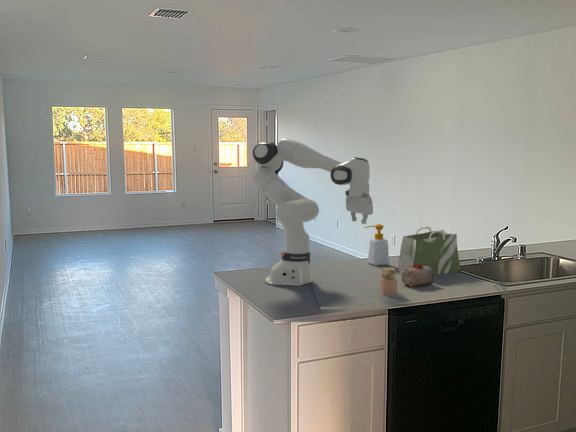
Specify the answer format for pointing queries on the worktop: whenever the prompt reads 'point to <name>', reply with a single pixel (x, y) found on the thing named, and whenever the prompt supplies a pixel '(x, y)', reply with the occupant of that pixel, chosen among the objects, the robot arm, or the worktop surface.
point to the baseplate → (371, 293)
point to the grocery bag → (430, 252)
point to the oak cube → (388, 273)
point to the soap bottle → (378, 248)
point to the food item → (417, 276)
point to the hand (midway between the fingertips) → (358, 222)
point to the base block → (388, 286)
